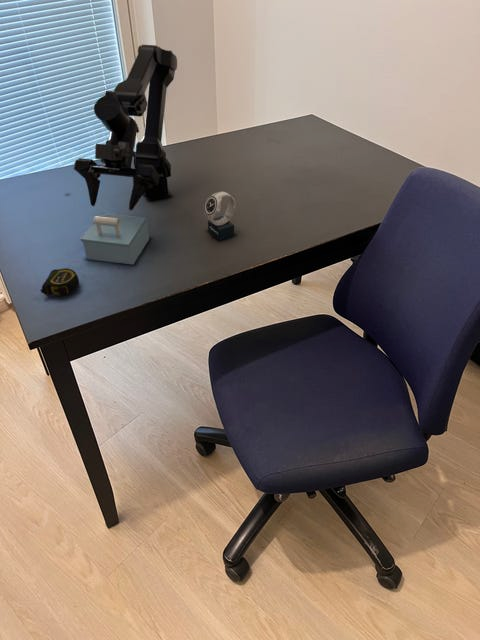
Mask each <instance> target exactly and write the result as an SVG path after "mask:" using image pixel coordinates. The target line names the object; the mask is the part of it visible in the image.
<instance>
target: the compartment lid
mask: <svg viewBox="0 0 480 640" xmlns="http://www.w3.org/2000/svg"><path fill="white" fill-rule="evenodd" d="M147 219H148V218H147V217H144V216H143V217H142V216H134V215H133V216H132V215H124V214H117V213H115V214H114V213H105V212H101V213H100V214H99V216H97V215H95V216H94V217H93V223H92V224H91V225H90V227H88V228H87V230H86V231H85V232H84V233H83V235H81V237H80V242H82V243H83V242H90V243H99V244H107V245H116V246H124V247H129V246H130V245H131V243H132V242H133V240H134V239H135V237H136V236H137V234H138V233H139V231H140V230H141V228H142V227H143V225H144V224H145V222H146V221H147V222H148V220H147Z"/></svg>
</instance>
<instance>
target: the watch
mask: <svg viewBox="0 0 480 640" xmlns="http://www.w3.org/2000/svg"><path fill="white" fill-rule="evenodd" d="M225 197H228V198H229V203H228V204H227V206H226V207H227V208H226V210H225V212H224V214H223V215H220V216H217V215H218V214H219V213H220V212H221V206H222V205H221V204H222V201H223V198H225ZM235 199H236V198H234V197H233V196H232V195H231V194H230V193H228V192H226V191H218V192H215V193H213V194H212V195H210V196H208V197H207V198H206V200H205V202H204V205H203V211H204V214H205V218H206V219H207V231H208V232H209V234H211V235H212V236H213V237H215V238H216V239H217V240H218V241H223V240H226V239H228V238H232V237H234V236H235V224H233V223H232V222H231V221H230V220H231V219H232V218H233V216H234V214H235V210H236V208H237V206H236V200H235ZM216 216H217V217H216Z"/></svg>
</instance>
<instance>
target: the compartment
mask: <svg viewBox="0 0 480 640" xmlns="http://www.w3.org/2000/svg"><path fill="white" fill-rule="evenodd" d="M149 240H150V235H149V226H148V220H147V221H146V222H145V224H144V225H143V227H142V228H141V230H140V231H139V233H138V234H137V236H136V237H135V239H134V240H133V242H132V243H131V245H130V246H129V247H124V246H116V245H107V244H99V243H90V242H82V245H83V250H84V253H85V256H86V259H87V260H91V261H99V262H107V263H108V262H109V263H116V264H125V265H131V266H132V265H134V264H135V263H136V261H137V260H138V258H139V256H140V255H141V253H142V252H143V249H144V248H145V247H146V246H147V243H148V242H149Z"/></svg>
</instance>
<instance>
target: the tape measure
mask: <svg viewBox="0 0 480 640" xmlns="http://www.w3.org/2000/svg"><path fill="white" fill-rule="evenodd" d="M79 285H80V279H79V276H78V274H77V272H76V271H75V270H73V269H72V268H67V267H65V268H57V269H52V270H50V272H49V275H48V276H47V278H46V279H45V281H44V282H43V284H42V286H41V288H40V292H41V294H44V295H45V296H50V297H51V296H53V295H54V296H56V297H63V296H68V295H71V294H73V293H74V292H75V291H77V290H78V288H79Z"/></svg>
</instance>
